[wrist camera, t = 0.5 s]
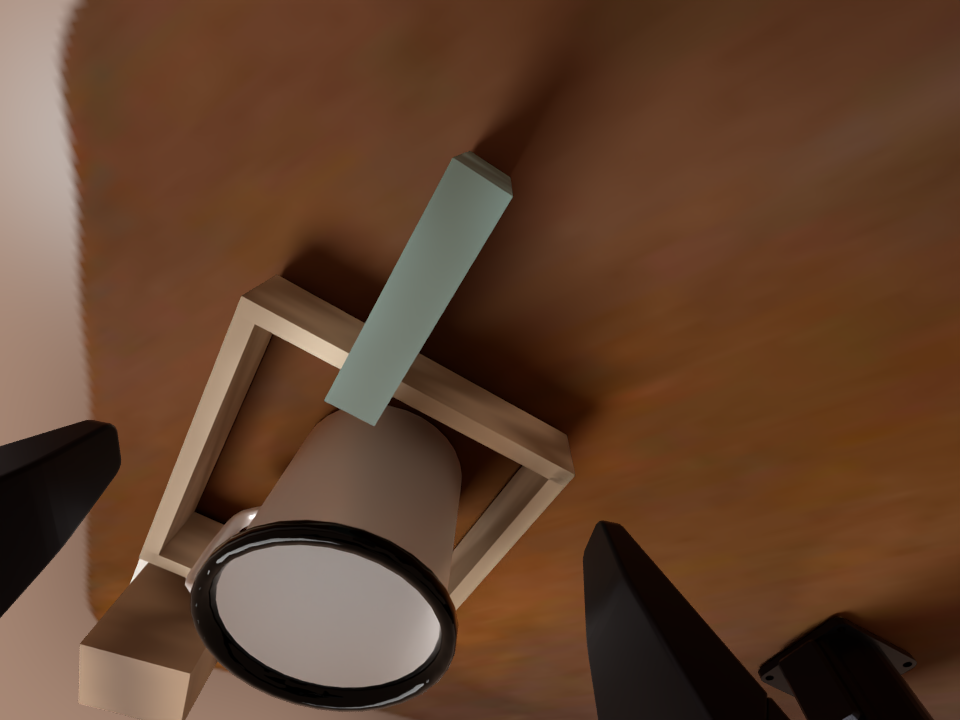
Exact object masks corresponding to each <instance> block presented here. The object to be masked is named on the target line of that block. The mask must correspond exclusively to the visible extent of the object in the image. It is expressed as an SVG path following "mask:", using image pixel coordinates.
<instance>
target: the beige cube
mask: <svg viewBox="0 0 960 720" xmlns="http://www.w3.org/2000/svg"><path fill="white" fill-rule="evenodd" d="M185 581H186V578H185V577H183V576H181V575H178V574H176V573H173V572H171V571H168V570H166V569H164V568H161V567H159V566H156V565H154V564H151V563H149V562H148V563H147V564H146V566H145V567H144V568H143V569H142V570H141V572H140V573H139V574H138V575H137V576H136V578H135V579H134V580H133V581H132V582H131V584H130V585H129V586H128V587H127V588H126V590H125V591H124V592H123V593H122V594H121V595H120V597H119V598H118V599H117V600H116V601H115V603H114V604H113V605H112V606H111V607H110V609H109V610H108V611H107V612H106V613H105V615H104V616H103V617H102V618H101V619H100V621H99V622H98V623H97V624H96V625H95V627H94V628H93V629H92V630H91V631H90V633H89V634H88V635H87V636H86V637H85V638H84V640H83V641H82V642H81V643H80V659H79V661H80V663H79V704H82V705H87V706H90V707H94V708H98V709H102V710H106V711H110V712H113V713H117V714H122V715H125V716H130V717H133V718H137V719H141V720H185V719H186V717H187V716H188V714H189V712H190V710H191V708H192V706H193V705H194V703H195V701H196V699H197V697H198V695H199V694H200V692H201V690H202V688H203V686H204V685H205V683H206V681H207V679H208V677H209V676H210V674H211V672H212V670H213V668H214V666H215V665H216V663H217V660H216V659H215V658H214V657H213V655H212V654H211V653H210V652H209V651H208V649H207V648H206V647H205V646H204V644H203V642H202V640H201V639H200V637H199V635H198V633H197V631H196V629H195V627H194V624H193V620H192V616H191V612H190V592H189V591H188V589H187V587H186V586H185Z"/></svg>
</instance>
